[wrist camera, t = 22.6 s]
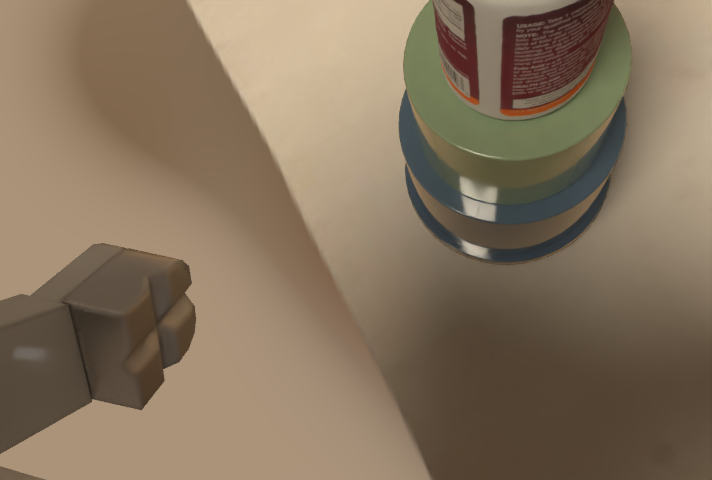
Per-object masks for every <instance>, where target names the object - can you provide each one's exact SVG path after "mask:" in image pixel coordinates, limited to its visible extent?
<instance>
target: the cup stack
mask: <svg viewBox="0 0 712 480" xmlns="http://www.w3.org/2000/svg"><path fill="white" fill-rule="evenodd" d="M631 64H632V47H631V41H630V36H629V32H628V29H627V26H626V23H625V21H624V19H623V17H622V15H621V13H620V11H619V9H618V8H617V7H616V5H615V4H614V2H613V5H612V8H611V11H610V14H609V18H608V21H607V24H606V28H605V31H604V35H603V38H602V42H601V45H600V48H599V52H598V55H597V57H596V61H595V64H594V67H593V70H592V72H591V75H590V76H589V78H588V80H587V81H586V83H585V85H584V86H583V87H582V88H581V90H580V91H579V92H578V93H577V94H576V95H575V96H574V97H573V98H572V99H571V100H570V101H569V102H567V103H566V104H565V105H563V106H562V107H560V108H558V109H556V110H554V111H552V112H550V113H548V114H545V115H543V116H540V117H536V118H532V119H525V120H501V119H497V118H493V117H490V116H487V115H484V114H482V113H479V112H477V111H475V110H474V109H472V108H470V107H469V106H467V105H466V104H465V103H464V102H462V101H461V100H460V99H459V98H458V97H457V96H456V95H455V94H454V92H453V91H452V90H451V88H450V87H449V85H448V83H447V81H446V79H445V76H444V73H443V70H442V67H441V61H440V54H439V47H438V38H437V32H436V24H435V15H434V7H433V1H432V0H429V2H428V3H427V4H426V5H425V6H424V8H423V9H422V11H421V12H420V13H419V15H418V16H417V18H416V20H415V22H414V24H413V26H412V28H411V30H410V33H409V36H408V38H407V42H406V46H405V51H404V61H403V70H404V80H405V85H406V90H405V93H404V95H403V98H402V102H401V107H400V112H399V138H400V142H401V147H402V151H403V155H404V158H405V161H406V163H405V176H406V184H407V189H408V194H409V197H410V199H411V202H412V205H413V207H414V209H415V211H416V213H417V215H418V217H419V219H420V220H421V222H422V223H423V224H424V226H425V227H426V229H427V230H428V231H429V232H430V233H431V234H432V235H433V236H434V237H435V238H436V239H437V240H439V241H440V242H441V243H442V244H444V245H445V246H446V247H448V248H449V249H451V250H453V251H454V252H456V253H458V254H460V255H463V256H465V257H467V258H470V259H473V260H476V261H480V262H484V263H490V264H499V265H514V264H524V263H528V262H533V261H537V260H540V259H543V258H546V257H549V256H551V255H553V254H555V253H557V252H559V251H561V250H562V249H564V248H565V247H567V246H568V245H570V244H571V243H573V242H574V241H575V240H576V239H577V238H578V237H580V236H581V235H582V234H583V233H584V232H585V230H586V229H587V228H588V227H589V226H590V225H591V223H592V222H593V220H594V219H595V217H596V216H597V214H598V212H599V211H600V209H601V207H602V204H603V202H604V200H605V198H606V195H607V191H608V188H609V184H610V176H611V172H612V170H613V168H614V166H615V164H616V161H617V159H618V157H619V155H620V153H621V149H622V146H623V142H624V139H625V132H626V125H627V124H626V106H625V100H624V96H623V95H624V92H625V90H626V87H627V84H628V80H629V77H630V72H631Z"/></svg>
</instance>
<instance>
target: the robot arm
mask: <svg viewBox="0 0 712 480" xmlns="http://www.w3.org/2000/svg"><path fill="white" fill-rule="evenodd" d="M191 284H192V281H191V275H190V270H189V266H188V265H187V264H186V263H185V262H184V261H183V260H179V259H174V258H170V257H165V256H161V255H156V254H152V253H147V252H143V251H138V250H133V249H126V248H123V247H118V246H114V245H109V244H103V243H101V244H94V245H92V246H91V247H89V248H88V249H87V250H86V251H85V252H83V253H82V254H81V255H80V256H78V257H77V258H76V259H75V260H73V261H72V262H71V263H70V264H69V265H67V266H66V267H65V268H64V269H62V270H61V271H60V272H59V273H57V274H56V275H55V276H54V277H53V278H51V279H50V280H49V281H48V282H47V283H46V284H44V285H43V286H42V287H40V288H39V289H38V290H37V291H36V292H34V293H33V294H32V295H30V296H28V295H23V294H20V295H17V296H14V297H11V298H8V299H5V300H1V301H0V454H1V453H3V452H4V451H6V450H8V449H10V448H11V447H13V446H15V445H17V444H18V443H20V442H22V441H24V440H25V439H27V438H29V437H30V436H33V435H34V434H36V433H38V432H40V431H41V430H43V429H45V428H47V427H49V426H50V425H52V424H54V423H56V422H57V421H59V420H61V419H62V418H64V417H66V416H68V415H70V414H71V413H73V412H75V411H76V410H78V409H80V408H82V407H84V406H86V405H87V404H89V403H91V402H92V399H94V400H99V401H104V402H108V403H112V404H117V405H121V406H126V407H131V408H135V409H139V410H142V409H143V408H144V406H145V405H146V404H147V402H148V401H149V400H150V399H151V397H152V396H153V395H154V393H155V392H156V391H157V390H158V388H159V387H160V386H161V385H162V383H163V382H164V373H163V369H165V368H167V367H169V366H171V365H173V364H176V363H178V362H180V360H181V359H182V357H183V356H184V355H185V353H186V352H187V351H188V349H189V347H190V344H191V341H192V339H193V336H194V333H195V324H196V313H195V306H194V305H193V303H192V302H191V301H190V299H189V298H188V297H187V296H186V294H185V292H186V290H187V289H188V288H189V286H190V285H191ZM0 480H44V479H41V478H38V477H34V476H31V475H28V474H24V473H20V472H17V471H14V470H10V469H7V468H3V467H0Z"/></svg>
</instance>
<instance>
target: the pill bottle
mask: <svg viewBox="0 0 712 480" xmlns="http://www.w3.org/2000/svg"><path fill="white" fill-rule="evenodd" d="M432 1H433V7H434V15H435V24H436V32H437V38H438V47H439V54H440V61H441V67H442V70H443V73H444V76H445V79H446V81H447V83H448V85H449V87H450V88H451V90H452V91H453V92H454V94H455V95H456V96H457V97H458V98H459V99H460V100H461V101H462V102H464V103H465V104H466V105H467V106H469V107H470V108H472V109H474V110H475V111H477V112H479V113H482V114H484V115H487V116H490V117H493V118H497V119H501V120H525V119H532V118H536V117H540V116H543V115H545V114H548V113H550V112H552V111H554V110H556V109H558V108H560V107H562V106H563V105H565V104H566V103H567V102H569V101H570V100H571V99H572V98H573V97H574V96H575V95H576V94H577V93H578V92H579V91H580V90H581V88H582V87H583V86H584V85H585V83H586V81H587V80H588V78H589V76H590V75H591V72H592V70H593V67H594V64H595V61H596V57H597V55H598V52H599V48H600V45H601V42H602V38H603V35H604V31H605V28H606V24H607V21H608V18H609V14H610V11H611V8H612V5H613V1H614V0H432Z"/></svg>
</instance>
